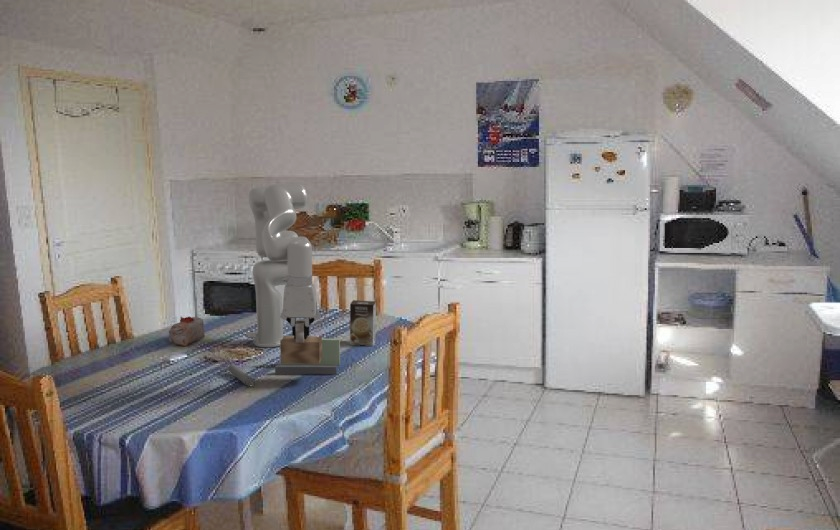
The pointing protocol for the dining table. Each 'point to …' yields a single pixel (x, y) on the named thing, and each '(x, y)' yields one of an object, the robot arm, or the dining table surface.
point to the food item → (187, 331)
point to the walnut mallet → (301, 347)
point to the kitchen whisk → (235, 371)
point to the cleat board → (328, 358)
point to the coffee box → (362, 323)
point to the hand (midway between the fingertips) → (300, 337)
